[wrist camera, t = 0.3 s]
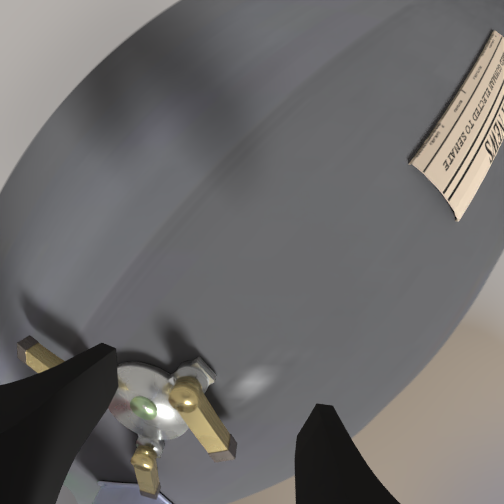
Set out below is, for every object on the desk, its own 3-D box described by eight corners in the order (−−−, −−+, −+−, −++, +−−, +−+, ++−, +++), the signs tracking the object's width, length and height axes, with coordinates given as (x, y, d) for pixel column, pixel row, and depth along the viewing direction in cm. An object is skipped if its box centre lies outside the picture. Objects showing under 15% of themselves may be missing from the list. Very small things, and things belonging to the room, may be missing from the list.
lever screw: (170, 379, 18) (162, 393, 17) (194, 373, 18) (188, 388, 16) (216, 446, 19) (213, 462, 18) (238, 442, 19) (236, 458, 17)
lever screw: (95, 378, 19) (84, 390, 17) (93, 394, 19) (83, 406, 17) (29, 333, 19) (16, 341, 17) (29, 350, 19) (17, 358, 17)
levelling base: (139, 453, 22) (135, 462, 21) (71, 357, 21) (63, 364, 19) (254, 437, 21) (253, 448, 20) (188, 320, 19) (183, 328, 18)
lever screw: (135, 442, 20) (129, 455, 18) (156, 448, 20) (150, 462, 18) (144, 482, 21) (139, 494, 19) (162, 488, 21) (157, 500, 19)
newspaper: (489, 33, 15) (497, 28, 13) (527, 82, 15) (536, 78, 13) (403, 165, 18) (415, 161, 16) (457, 230, 18) (470, 232, 17)
